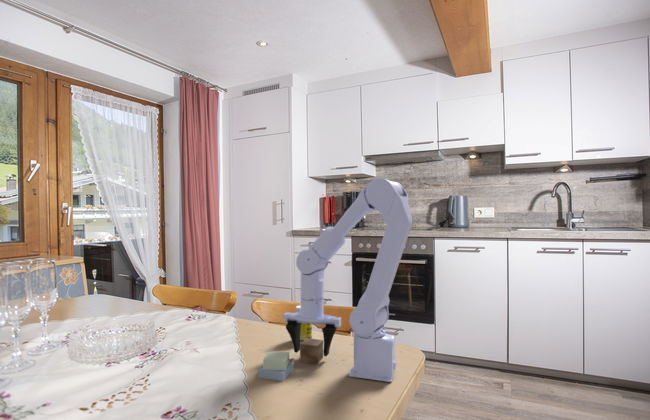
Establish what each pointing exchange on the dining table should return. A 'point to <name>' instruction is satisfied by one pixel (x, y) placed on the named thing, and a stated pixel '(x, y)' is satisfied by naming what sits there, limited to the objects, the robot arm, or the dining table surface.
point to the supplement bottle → (304, 328)
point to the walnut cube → (311, 351)
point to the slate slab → (276, 373)
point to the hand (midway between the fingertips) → (311, 353)
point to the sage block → (276, 361)
